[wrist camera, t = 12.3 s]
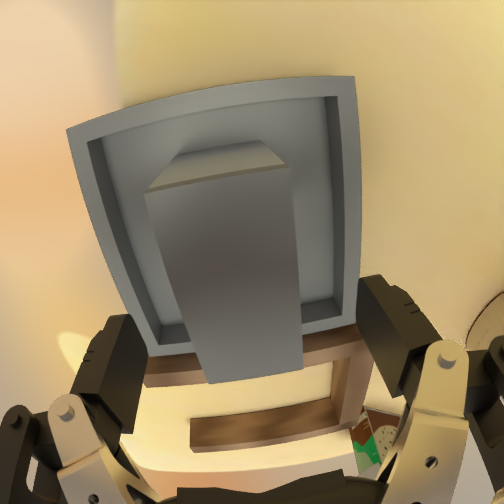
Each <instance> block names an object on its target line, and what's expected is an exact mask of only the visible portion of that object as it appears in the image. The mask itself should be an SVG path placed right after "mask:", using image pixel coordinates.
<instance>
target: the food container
mask: <svg viewBox="0 0 504 504" xmlns="http://www.w3.org/2000/svg"><path fill="white" fill-rule="evenodd" d="M400 418H401V416H400V415H398V414H394V413H389V412H385V411H381V410H377V409H373V408H369V407H365V406H363V407H362V410H361V413H360V416H359V420H358V423H357V426H354V427H351V428H349V431H350V435H351V440H352V444H353V448H354V453H355V458H356V462H357V467H358V471H359V475H358V476H357V477H364V478H369V479H373V480H375V479H376V477H377V474H378V472H379V470H380V468H381V466H382V464H383V462H384V460H385V458H386V456H387V454H388V451H389V449H390V446H391V444H392V441H393V438H394V435H395V433H396V430H397V427H398V424H399V421H400Z"/></svg>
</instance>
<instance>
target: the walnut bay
mask: <svg viewBox="0 0 504 504" xmlns="http://www.w3.org/2000/svg"><path fill="white" fill-rule="evenodd" d="M302 343H303V368H305V367H309V366H314V365H318V364H323V363H327V362H331V361H334V363H333V374H332V385H331V395H330V397H329V398H325V399H321V400H317V401H312V402H308V403H303V404H298V405H293V406H288V407H283V408H277V409H271V410H265V411H259V412H252V413H245V414H237V415H229V416H220V417H209V418H197V419H190V448H191V450H192V451H193V452H194V453H201V452H217V451H229V450H239V449H247V448H255V447H262V446H269V445H275V444H281V443H287V442H292V441H297V440H302V439H307V438H311V437H316V436H320V435H324V434H328V433H332V432H336V431H340V430H344V429H347V428H351V427H354V426H357V423H358V420H359V416H360V413H361V410H362V406H363V403H364V399H365V395H366V392H367V388H368V384H369V380H370V376H371V372H372V368H373V363H374V359H373V357H372V355H371V353H370V351H369V349H368V347H367V345H366V343H365V341H364V339H363V337H362V335H361V333H360V331H359V329H358V326H357V322H355V323H354V324H350V325H346V326H341V327H337V328H333V329H328V330H324V331H319V332H314V333H310V334H305V335H302ZM143 383H144V385H145V386H146V388H151V387H168V386H181V385H193V384H203V383H208V381H207V379H206V376H205V374H204V372H203V369H202V367H201V364H200V362H199V360H198V357H197V355H196V352H193V353H184V354H175V355H165V356H154V357H150V356H149V354H148V362H147V366H146V371H145V375H144V380H143Z"/></svg>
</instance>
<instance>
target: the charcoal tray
mask: <svg viewBox="0 0 504 504" xmlns="http://www.w3.org/2000/svg"><path fill="white" fill-rule="evenodd" d="M66 132H67V136H68V141H69V145H70V150H71V153H72V158H73V162H74V165H75V169H76V173H77V177H78V180H79V184H80V187H81V190H82V194H83V197H84V201H85V204H86V207H87V210H88V213H89V216H90V219H91V222H92V225H93V228H94V231H95V233H96V236H97V239H98V242H99V245H100V247H101V250H102V253H103V255H104V258H105V260H106V263H107V265H108V268H109V270H110V273H111V275H112V278H113V280H114V282H115V285H116V287H117V290H118V292H119V294H120V296H121V299H122V301H123V303H124V305H125V307H126V310H127V312H128V314H130V315H131V316H132V317H133V319H134V321H135V323H136V325H137V327H138V329H139V331H140V334H141V336H142V338H143V340H144V342H145V344H146V346H147V350H148V354H149V356H150V357H154V356H165V355H175V354H184V353H193V352H195V350H194V347H193V345H192V342H191V339H190V337H189V334H188V332H187V329H186V326H185V324H184V321H183V318H182V315H181V313H180V310H179V307H178V304H177V302H176V299H175V296H174V293H173V290H172V287H171V284H170V281H169V278H168V275H167V272H166V269H165V266H164V263H163V260H162V257H161V254H160V250H159V247H158V244H157V241H156V237H155V234H154V231H153V227H152V224H151V220H150V217H149V213H148V210H147V206H146V202H145V199H144V195H143V194H144V193H145V191H146V190H147V189H148V188H149V186H150V185H151V184H152V183H153V182H154V180H155V179H156V178H157V177H158V176H159V175H160V173H161V172H162V171H163V170H164V169H165V167H166V166H167V165H168V164H169V163H170V162H171V161H172V159H173V158H174V157H175V156H176V155H179V154H184V153H189V152H194V151H199V150H204V149H209V148H215V147H220V146H226V145H232V144H238V143H244V142H251V141H258V140H261V141H262V142H263V143H264V144H265V145H266V146H267V147H268V148H269V149H270V150H271V151H272V152H273V153H275V154H276V155H277V156H278V157H279V158H280V159H281V160H282V161H283V162H284V163H285V164H286V165H287V166H288V167H289V171H290V180H291V190H292V200H293V211H294V222H295V233H296V245H297V258H298V272H299V287H300V303H301V322H302V335H305V334H310V333H314V332H319V331H324V330H328V329H333V328H337V327H341V326H346V325H350V324H354V323H355V322H356V315H355V312H356V300H357V286H358V280H359V274H360V256H361V227H362V179H361V150H360V133H359V119H358V107H357V96H356V87H355V78H354V76H315V77H295V78H282V79H271V80H261V81H252V82H245V83H237V84H231V85H224V86H218V87H212V88H207V89H201V90H196V91H191V92H187V93H182V94H178V95H173V96H169V97H165V98H161V99H157V100H153V101H149V102H145V103H142V104H138V105H135V106H131V107H128V108H125V109H122V110H118V111H115V112H112V113H109V114H106V115H103V116H100V117H97V118H94V119H92V120H89V121H86V122H84V123H81V124H78V125H76V126H73V127H71V128H68V129H66Z"/></svg>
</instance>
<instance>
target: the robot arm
mask: <svg viewBox="0 0 504 504" xmlns="http://www.w3.org/2000/svg"><path fill="white" fill-rule="evenodd" d="M355 315H356V322H357V326H358V329H359V331H360V333H361V335H362V337H363V339H364V341H365V343H366V345H367V347H368V349H369V351H370V353H371V355H372V357H373V359H374V361H375V363H376V365H377V367H378V369H379V371H380V373H381V375H382V377H383V379H384V382H385V384H386V386H387V388H388V390H389V392H390V394H391V396H392V398H395V397H398V396H401V395H404V397H405V399H406V403H405V405H404V408H403V412H402V415H401V418H400V421H399V424H398V427H397V430H396V433H395V435H394V438H393V441H392V444H391V446H390V449H389V451H388V454H387V456H386V458H385V460H384V462H383V464H382V466H381V468H380V470H379V472H378V474H377V477H376V479H375V480H373V479H369V478H364V477H354V476H344V474H343V470H342V469H339V470H336V471H332V472H327V473H323V474H318V475H314V476H309V477H304V478H300V479H298V480H295V481H293V482H290V483H288V484H285V485H283V486H280V487H277V488H275V489H272V490H269V491H266V492H263V493H248V492H240V491H233V490H228V489H222V488H216V487H212V488H179V487H178V488H177V496H174V497H171V498H167V499H164V500H163V499H162V498H161V497H160V496H159V495H158V494H157V493H156V492H155V491H154V490H153V489H152V488H151V487H150V486H149V484H148V483H147V482H146V481H145V479H144V478H143V476H142V475H141V473H140V472H139V470H138V469H137V467H136V466H135V464H134V462H133V461H132V459H131V457H130V456H129V454H128V453H127V451H126V449H125V448H124V446H123V444H122V443H121V442H120V435H121V433H123V434H133V430H134V425H135V419H136V414H137V409H138V404H139V399H140V394H141V389H142V384H143V380H144V375H145V371H146V366H147V362H148V350H147V346H146V344H145V342H144V340H143V338H142V336H141V334H140V331H139V329H138V327H137V325H136V323H135V321H134V319H133V317H132V316H131V315H130V314H122V315H113V316H110V317H109V318H108V320H107V322H106V324H105V327H104V329H103V330H100V331H99V332H98V333H97V334H96V336H95V337H94V338H93V339H92V340H91V342H90V344H89V346H88V349H87V353H85V356H84V358H83V362H82V363H81V365H80V368H79V370H78V373H77V375H76V378H75V381H74V383H73V386H72V388H71V391H70V393H69V394H66V395H62V396H60V397H59V398H57V399H56V400H55V401H54V402H53V403H52V404H51V406H50V408H49V411H46V412H42V413H37V414H32V413H31V412H30V411H29V410H28V409H27V408H26V407H25V406H23V405H16V406H14V407H12V408H10V409H9V410H8V411H7V413H6V414H5V416H4V418H3V420H2V423H1V426H0V504H450V503H451V499H452V496H453V493H454V489H455V486H456V483H457V479H458V476H459V472H460V468H461V464H462V460H463V454H464V450H465V446H466V440H467V435H468V429H469V428H470V430H471V433H472V435H473V437H474V439H475V442H476V444H477V446H478V449H479V451H480V454H481V456H482V459H483V461H484V464H485V466H486V469H487V471H488V474H489V477H490V480H491V482H492V485H493V488H494V491H495V496H494V498H493V500H492V503H491V504H504V405H503V404H502V402H501V400H500V397H501V399H502V400H503V401H504V293H502V294H501V295H500V296H498V297H497V298H496V299H495V300H493V301H492V302H491V303H490V304H489V305H488V306H487V308H486V309H485V310H484V311H483V312H482V314H481V315H480V316H479V318H478V319H477V320H476V322H475V324H474V325H473V327H472V329H471V331H470V333H469V335H468V338H467V343H466V346H467V349H468V350H469V351H466V350H465V349H464V348H463V347H462V346H461V345H460V344H458V343H456V342H454V341H450V340H443V339H442V338H441V336H440V335H439V334H438V332H437V331H436V330H435V328H434V327H433V325H432V324H431V323H430V321H429V320H428V319H427V317H426V316H425V315H424V314H423V312H421V311H420V308H419V307H418V306H417V304H415V303H414V301H413V299H412V298H411V297H410V296H409V294H408V293H407V292H406V291H404V290H402V289H401V288H399V287H397V286H396V285H394V286H389V284H388V283H387V282H386V280H385V279H384V278H383V277H382V275H380V274H377V275H372V276H368V277H363V278H359V280H358V286H357V300H356V312H355ZM463 415H464V417H465V418H464V417H463ZM31 456H32V457H33V458H35V459H36V460H37V461H38V467H37V472H36V476H35V481H34V486H33V491H32V492H31V491H30V490H29V489H28V487H27V484H26V477H27V473H28V468H29V464H30V460H31Z"/></svg>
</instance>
